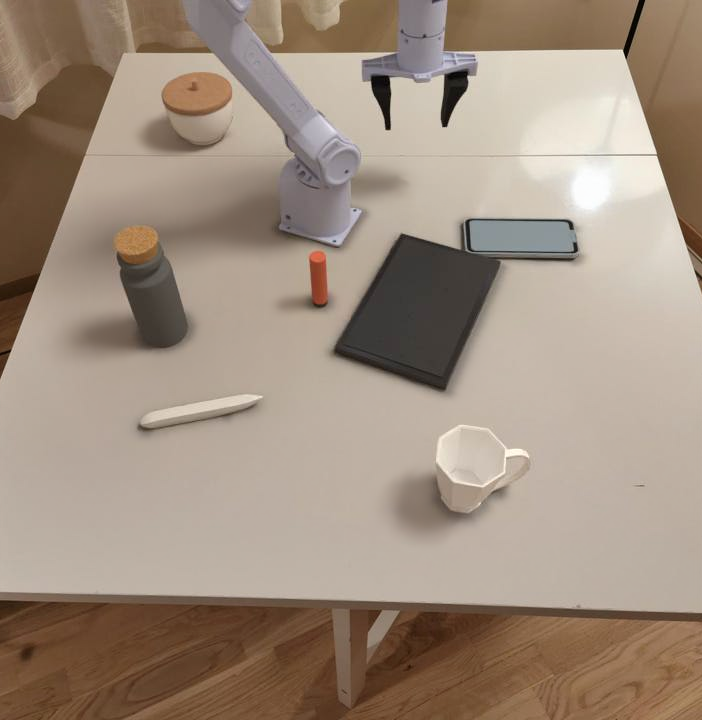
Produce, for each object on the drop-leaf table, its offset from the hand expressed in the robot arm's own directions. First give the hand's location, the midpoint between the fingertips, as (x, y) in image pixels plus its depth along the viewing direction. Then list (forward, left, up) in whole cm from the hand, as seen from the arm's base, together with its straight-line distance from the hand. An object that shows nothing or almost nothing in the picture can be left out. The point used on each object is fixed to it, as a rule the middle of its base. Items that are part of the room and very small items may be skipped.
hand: (415, 124), depth 96 cm
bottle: (-18, -38, -11) cm, 44 cm away
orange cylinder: (-2, -26, -10) cm, 29 cm away
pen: (-7, -47, -11) cm, 49 cm away
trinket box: (-35, 0, -11) cm, 37 cm away
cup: (+24, -44, -11) cm, 51 cm away
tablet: (+10, -22, -10) cm, 27 cm away
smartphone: (+18, -5, -10) cm, 21 cm away
